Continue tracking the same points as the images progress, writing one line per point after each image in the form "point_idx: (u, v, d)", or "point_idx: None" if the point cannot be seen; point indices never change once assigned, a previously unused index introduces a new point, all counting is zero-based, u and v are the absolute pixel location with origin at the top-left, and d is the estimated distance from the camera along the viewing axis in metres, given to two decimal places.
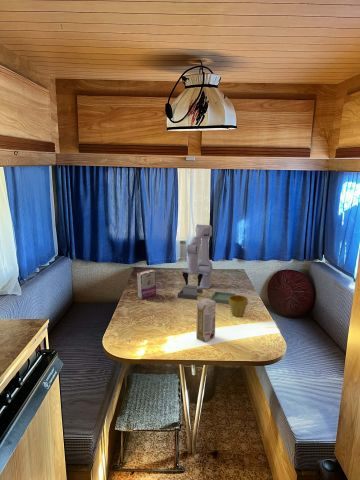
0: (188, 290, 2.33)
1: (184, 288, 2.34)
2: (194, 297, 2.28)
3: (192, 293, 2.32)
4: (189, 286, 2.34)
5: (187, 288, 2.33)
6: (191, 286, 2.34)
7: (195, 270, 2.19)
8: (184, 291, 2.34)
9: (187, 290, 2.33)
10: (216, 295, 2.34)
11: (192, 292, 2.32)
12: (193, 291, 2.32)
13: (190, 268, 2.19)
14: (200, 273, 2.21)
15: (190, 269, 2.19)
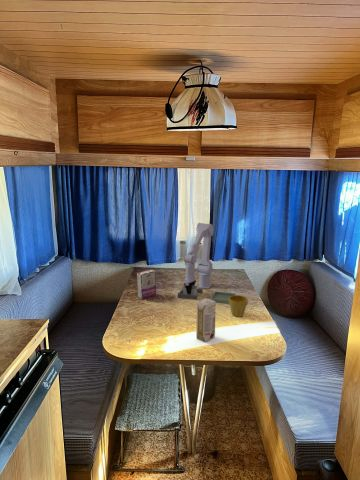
0: None
1: (184, 288, 2.34)
2: (194, 297, 2.28)
3: (192, 293, 2.32)
4: None
5: None
6: None
7: (186, 278, 2.32)
8: (184, 291, 2.34)
9: None
10: (216, 295, 2.34)
11: (192, 292, 2.32)
12: (193, 291, 2.32)
13: None
14: None
15: None
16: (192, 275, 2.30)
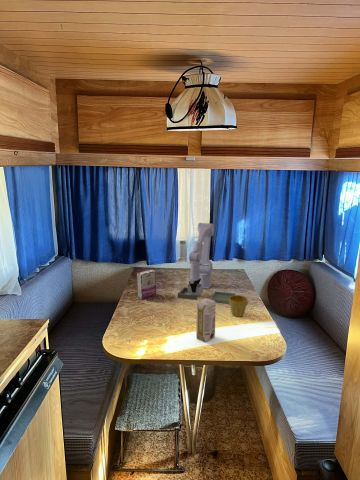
0: None
1: (189, 286, 2.32)
2: (194, 297, 2.28)
3: (197, 291, 2.31)
4: None
5: None
6: None
7: (191, 276, 2.31)
8: (188, 289, 2.33)
9: None
10: (216, 295, 2.34)
11: (197, 290, 2.31)
12: (198, 289, 2.31)
13: None
14: None
15: None
16: (197, 273, 2.29)
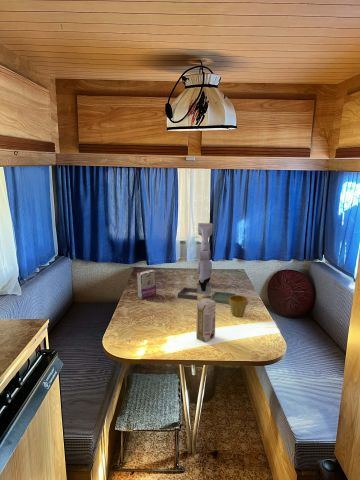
0: None
1: (198, 285, 2.30)
2: (194, 297, 2.28)
3: (206, 290, 2.29)
4: None
5: None
6: None
7: (201, 275, 2.28)
8: (198, 288, 2.31)
9: None
10: (216, 295, 2.34)
11: (206, 289, 2.29)
12: (207, 288, 2.28)
13: None
14: None
15: None
16: (207, 272, 2.27)
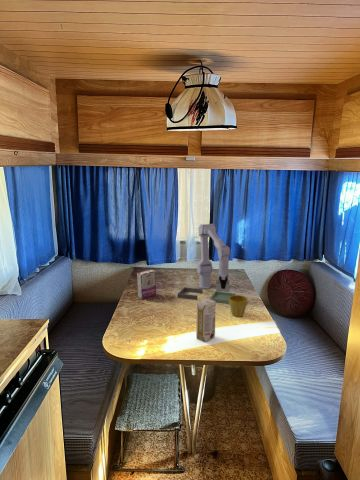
0: None
1: (217, 283, 2.25)
2: (194, 297, 2.28)
3: (226, 288, 2.25)
4: None
5: (220, 283, 2.25)
6: None
7: (220, 272, 2.23)
8: (217, 286, 2.25)
9: None
10: (216, 295, 2.34)
11: (226, 287, 2.25)
12: (227, 286, 2.25)
13: None
14: None
15: None
16: (227, 269, 2.23)
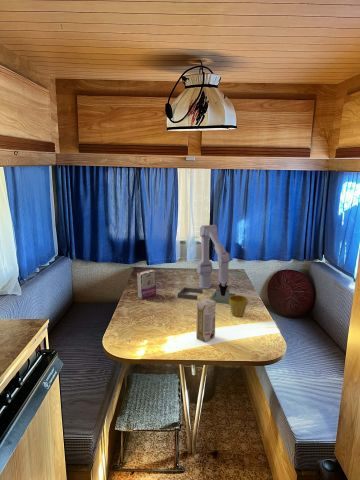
0: None
1: (217, 291, 2.26)
2: (194, 297, 2.28)
3: (226, 296, 2.26)
4: None
5: (220, 291, 2.26)
6: None
7: (220, 278, 2.24)
8: (217, 294, 2.27)
9: (220, 293, 2.26)
10: None
11: (226, 295, 2.26)
12: (227, 294, 2.26)
13: None
14: None
15: None
16: (226, 275, 2.24)
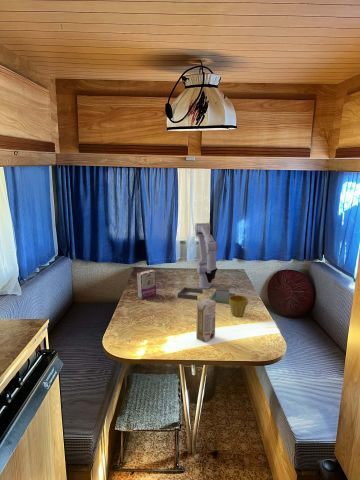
0: (222, 293, 2.26)
1: (217, 291, 2.26)
2: (194, 297, 2.28)
3: (226, 296, 2.26)
4: (222, 289, 2.27)
5: (220, 291, 2.26)
6: (224, 289, 2.28)
7: (207, 266, 2.31)
8: (217, 294, 2.27)
9: (220, 293, 2.26)
10: None
11: (226, 295, 2.26)
12: (227, 294, 2.26)
13: None
14: None
15: None
16: (213, 263, 2.30)
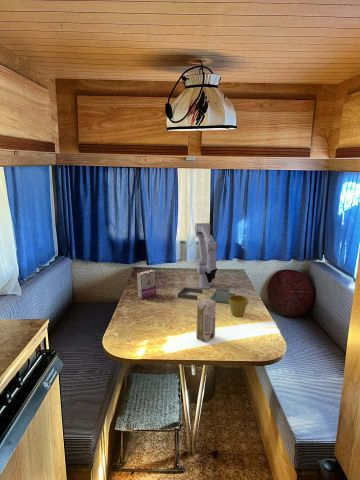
0: (222, 293, 2.26)
1: (217, 291, 2.26)
2: (194, 297, 2.28)
3: (226, 296, 2.26)
4: (222, 289, 2.27)
5: (220, 291, 2.26)
6: (224, 289, 2.28)
7: (207, 266, 2.31)
8: (217, 294, 2.27)
9: (220, 293, 2.26)
10: None
11: (226, 295, 2.26)
12: (227, 294, 2.26)
13: None
14: None
15: None
16: (213, 263, 2.30)
